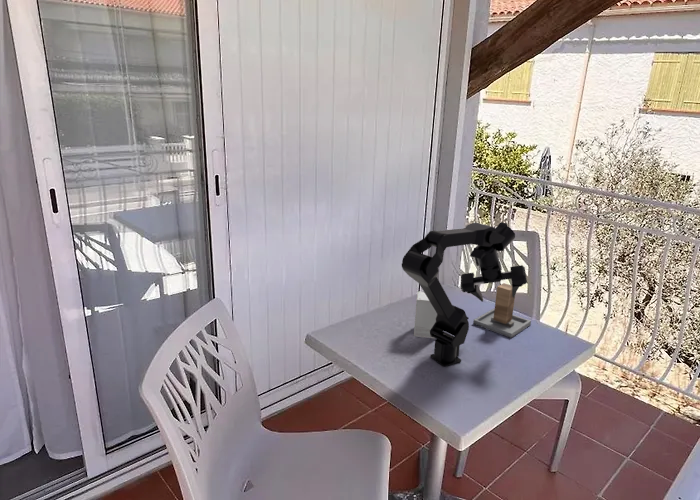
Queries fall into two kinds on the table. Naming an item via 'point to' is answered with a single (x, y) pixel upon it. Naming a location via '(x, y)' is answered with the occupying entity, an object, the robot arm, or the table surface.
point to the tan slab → (504, 305)
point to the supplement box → (424, 316)
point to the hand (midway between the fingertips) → (497, 298)
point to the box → (499, 328)
